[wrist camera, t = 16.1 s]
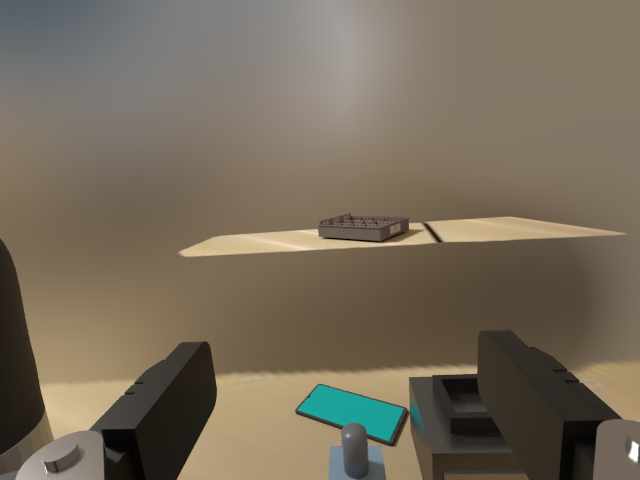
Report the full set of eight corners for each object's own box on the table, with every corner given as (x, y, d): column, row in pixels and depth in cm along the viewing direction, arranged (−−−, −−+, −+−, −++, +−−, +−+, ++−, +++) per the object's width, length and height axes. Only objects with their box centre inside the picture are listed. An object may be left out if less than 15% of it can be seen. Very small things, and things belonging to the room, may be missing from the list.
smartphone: (391, 443, 43) (294, 410, 50) (392, 449, 43) (295, 415, 50) (407, 407, 49) (319, 382, 56) (408, 412, 49) (319, 387, 57)
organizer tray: (381, 244, 159) (380, 223, 157) (317, 239, 185) (315, 221, 183) (410, 231, 183) (410, 213, 181) (350, 229, 208) (349, 213, 206)
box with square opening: (434, 525, 33) (432, 439, 31) (410, 431, 45) (408, 364, 43) (564, 527, 32) (570, 437, 30) (504, 429, 44) (506, 361, 42)
